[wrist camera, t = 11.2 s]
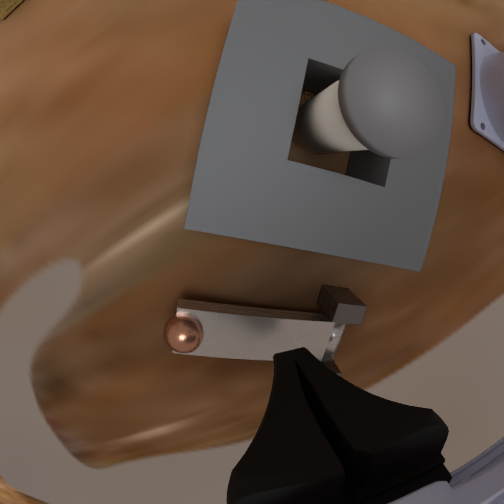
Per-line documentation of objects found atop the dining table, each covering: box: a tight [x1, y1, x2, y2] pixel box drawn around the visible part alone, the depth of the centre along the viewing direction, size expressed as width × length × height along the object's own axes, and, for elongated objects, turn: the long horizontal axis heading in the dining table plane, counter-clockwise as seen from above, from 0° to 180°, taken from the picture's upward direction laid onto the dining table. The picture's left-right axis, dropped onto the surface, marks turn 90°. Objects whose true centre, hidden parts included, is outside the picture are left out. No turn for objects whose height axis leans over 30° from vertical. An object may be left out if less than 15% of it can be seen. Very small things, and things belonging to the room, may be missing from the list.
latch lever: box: [164, 298, 346, 362], centre depth 14 cm, size 9×2×2 cm, turn 78°
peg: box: [292, 45, 444, 159], centre depth 10 cm, size 3×3×8 cm
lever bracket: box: [317, 285, 367, 376], centre depth 16 cm, size 2×5×2 cm, turn 168°
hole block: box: [184, 0, 456, 272], centre depth 12 cm, size 10×10×4 cm
